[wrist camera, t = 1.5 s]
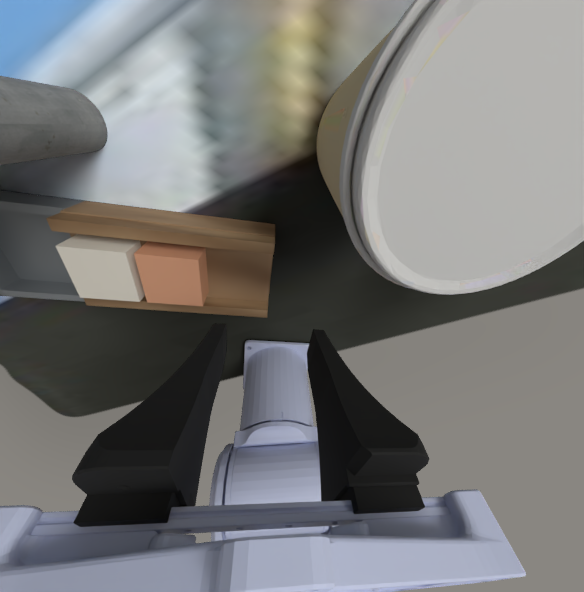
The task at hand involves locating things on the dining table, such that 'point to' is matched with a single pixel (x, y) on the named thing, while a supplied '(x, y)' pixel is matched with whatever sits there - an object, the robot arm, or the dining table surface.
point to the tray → (33, 248)
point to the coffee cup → (462, 143)
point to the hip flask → (46, 122)
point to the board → (193, 232)
